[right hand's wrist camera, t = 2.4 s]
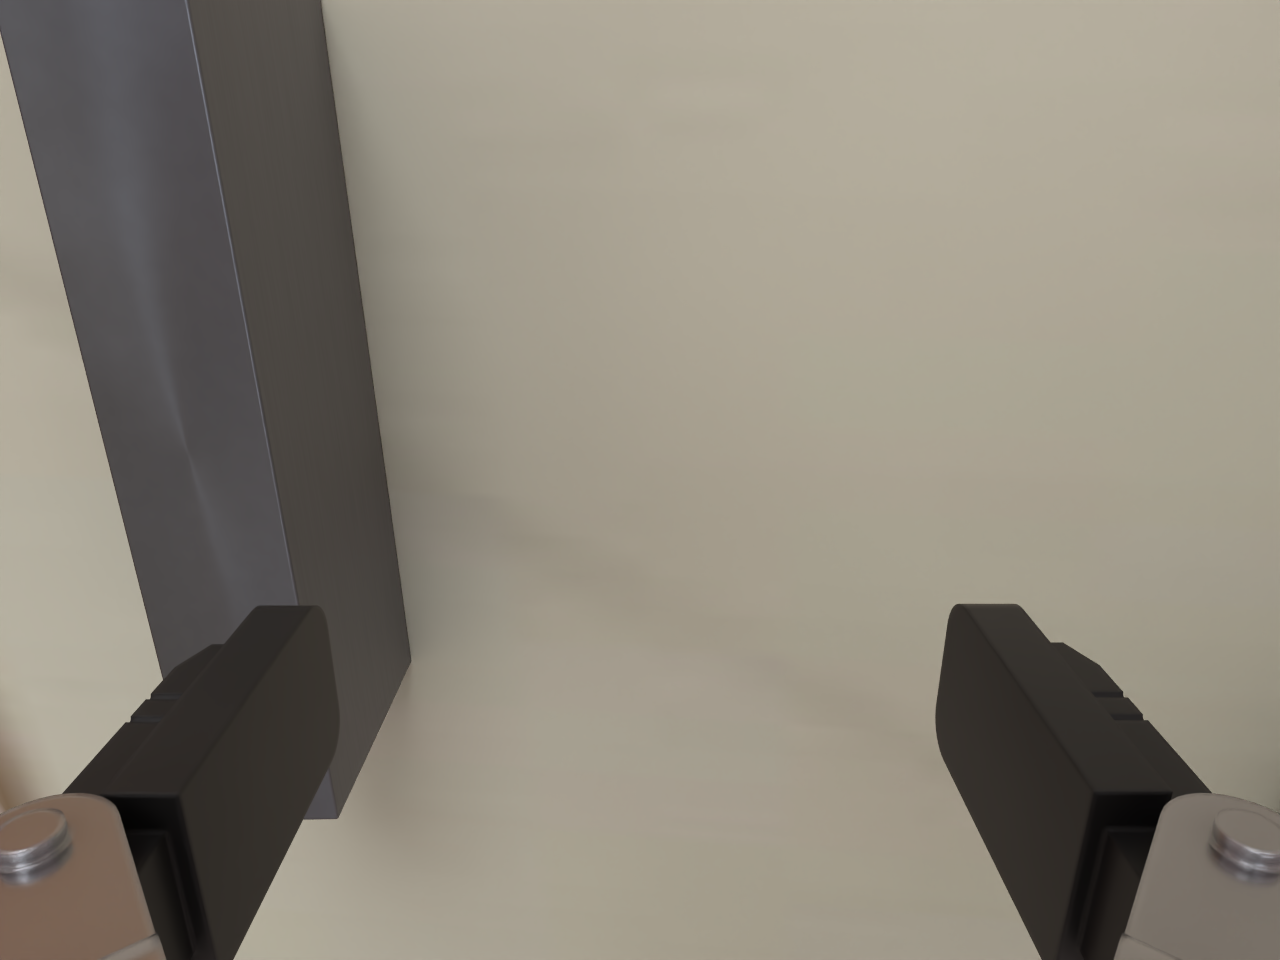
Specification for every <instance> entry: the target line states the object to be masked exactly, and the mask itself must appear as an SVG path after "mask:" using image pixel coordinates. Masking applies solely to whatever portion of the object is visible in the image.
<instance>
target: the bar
mask: <svg viewBox="0 0 1280 960" xmlns="http://www.w3.org/2000/svg"><path fill="white" fill-rule="evenodd" d="M0 32H1V36H2V40H3V44H4V48H5V52H6V56H7V60H8V64H9V68H10V72H11V76H12V80H13V84H14V88H15V92H16V96H17V100H18V104H19V108H20V112H21V116H22V120H23V124H24V128H25V132H26V136H27V140H28V144H29V148H30V152H31V156H32V160H33V164H34V168H35V172H36V176H37V180H38V184H39V188H40V192H41V196H42V200H43V204H44V208H45V211H46V215H47V219H48V223H49V227H50V231H51V235H52V239H53V243H54V247H55V251H56V255H57V259H58V263H59V267H60V271H61V275H62V279H63V283H64V287H65V291H66V295H67V299H68V303H69V307H70V311H71V315H72V319H73V323H74V327H75V331H76V335H77V339H78V343H79V347H80V351H81V355H82V359H83V363H84V367H85V371H86V375H87V379H88V383H89V387H90V391H91V395H92V399H93V403H94V407H95V411H96V415H97V419H98V423H99V427H100V431H101V435H102V438H103V442H104V446H105V450H106V454H107V458H108V462H109V466H110V470H111V474H112V478H113V482H114V486H115V490H116V494H117V498H118V502H119V506H120V510H121V514H122V518H123V522H124V526H125V530H126V534H127V538H128V542H129V546H130V550H131V554H132V558H133V562H134V566H135V570H136V574H137V578H138V582H139V586H140V590H141V594H142V598H143V602H144V606H145V610H146V614H147V618H148V622H149V626H150V630H151V634H152V638H153V642H154V646H155V650H156V654H157V658H158V661H159V665H160V669H161V673H162V677H163V680H164V679H165V677H166V676H167V675H168V674H169V673H170V672H171V671H172V670H173V668H174V667H176V666H177V665H179V664H181V663H182V662H184V661H185V660H187V659H189V658H190V657H192V656H194V655H195V654H197V653H198V652H200V651H202V650H203V649H205V648H206V647H208V646H210V645H211V644H224V643H225V642H226V641H227V640H228V639H229V637H230V636H231V635H232V634H233V633H234V631H235V630H236V629H237V628H238V627H239V625H240V624H241V623H242V622H243V621H244V619H245V618H246V617H247V616H248V615H249V613H250V612H251V611H252V610H253V609H254V608H255V607H257V606H260V605H317V606H320V607H321V608H322V610H323V611H324V613H325V616H326V619H327V624H328V631H329V638H330V645H331V652H332V659H333V666H334V673H335V680H336V687H337V694H338V701H339V709H340V730H339V738H338V744H337V748H336V752H335V755H334V758H333V760H332V762H331V764H330V766H329V768H328V770H327V772H326V774H325V776H324V778H323V780H322V782H321V784H320V786H319V788H318V790H317V792H316V794H315V797H314V799H313V801H312V803H311V805H310V807H309V809H308V811H307V813H306V815H305V817H304V819H337V818H338V817H339V815H340V813H341V811H342V809H343V807H344V804H345V802H346V800H347V798H348V796H349V794H350V792H351V789H352V787H353V785H354V783H355V781H356V779H357V777H358V774H359V772H360V770H361V768H362V766H363V764H364V761H365V759H366V757H367V755H368V753H369V751H370V749H371V746H372V744H373V742H374V740H375V738H376V736H377V734H378V731H379V729H380V727H381V725H382V723H383V721H384V718H385V716H386V714H387V712H388V710H389V708H390V706H391V703H392V701H393V699H394V697H395V695H396V693H397V691H398V688H399V686H400V684H401V682H402V680H403V678H404V676H405V673H406V671H407V669H408V667H409V665H410V663H411V657H410V650H409V642H408V635H407V628H406V620H405V613H404V606H403V599H402V591H401V584H400V577H399V570H398V562H397V555H396V548H395V541H394V533H393V526H392V519H391V512H390V504H389V497H388V490H387V482H386V475H385V468H384V461H383V453H382V446H381V439H380V432H379V424H378V417H377V410H376V403H375V395H374V388H373V381H372V374H371V366H370V359H369V352H368V344H367V337H366V330H365V323H364V315H363V308H362V301H361V294H360V286H359V279H358V272H357V265H356V257H355V250H354V243H353V236H352V228H351V221H350V214H349V206H348V199H347V192H346V185H345V177H344V170H343V163H342V156H341V148H340V141H339V134H338V127H337V119H336V112H335V105H334V98H333V90H332V83H331V76H330V68H329V61H328V54H327V47H326V39H325V32H324V25H323V18H322V10H321V3H320V0H0Z"/></svg>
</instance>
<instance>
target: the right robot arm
mask: <svg viewBox="0 0 1280 960" xmlns="http://www.w3.org/2000/svg"><path fill="white" fill-rule="evenodd" d="M339 730H340V709H339V701H338V694H337V687H336V680H335V673H334V666H333V659H332V652H331V645H330V638H329V631H328V624H327V619H326V616H325V613H324V611H323V610H322V608H321V607H320V606H317V605H260V606H257V607H255V608H254V609H253V610H252V611H251V612H250V613H249V615H248V616H247V617H246V618H245V619H244V621H243V622H242V623H241V624H240V625H239V627H238V628H237V629H236V630H235V631H234V633H233V634H232V635H231V636H230V637H229V639H228V640H227V641H226V642H225V643H224V644H211V645H210V646H208V647H206V648H205V649H203V650H202V651H200V652H198V653H197V654H195V655H194V656H192V657H190V658H189V659H187V660H185V661H184V662H182V663H181V664H179V665H177V666H176V667H174V668H173V670H172V671H171V672H170V673H169V674H168V675H167V676H166V677H165V679H164V680H163V681H162V682H161V683H160V684H159V685H158V686H157V688H156V689H155V690H154V691H153V692H152V693H151V698H150V699H146V700H145V701H144V702H143V703H142V705H141V706H140V707H139V708H138V709H137V710H136V711H135V712H134V714H133V715H132V716H131V721H130V722H126V723H125V724H124V725H123V726H122V727H121V728H120V729H119V730H118V732H117V733H116V734H115V735H114V736H113V737H112V738H111V739H110V741H109V742H108V743H107V744H106V745H105V746H104V747H103V748H102V750H101V751H100V752H99V753H98V754H97V755H96V756H95V757H94V759H93V760H92V761H91V762H90V763H89V764H88V765H87V766H86V768H85V769H84V770H83V771H82V772H81V773H80V774H79V775H78V777H77V778H76V779H75V780H74V781H73V782H72V783H71V784H70V786H69V787H68V788H67V789H66V790H65V791H64V792H63V793H62V794H60V795H53V796H49V797H44V798H40V799H37V800H33V801H30V802H27V803H24V804H22V805H19V806H17V807H14V808H11V809H9V810H7V811H5V812H3V813H1V814H0V960H233V959H234V957H235V955H236V953H237V951H238V949H239V947H240V945H241V943H242V941H243V939H244V937H245V935H246V933H247V931H248V929H249V927H250V925H251V923H252V921H253V919H254V917H255V915H256V913H257V911H258V909H259V907H260V905H261V903H262V901H263V899H264V897H265V895H266V893H267V891H268V889H269V887H270V885H271V883H272V881H273V879H274V877H275V875H276V873H277V871H278V869H279V867H280V865H281V863H282V861H283V859H284V857H285V855H286V853H287V851H288V849H289V847H290V845H291V843H292V841H293V839H294V837H295V835H296V833H297V831H298V829H299V827H300V825H301V823H302V821H303V819H304V817H305V815H306V813H307V811H308V809H309V807H310V805H311V803H312V801H313V799H314V797H315V794H316V792H317V790H318V788H319V786H320V784H321V782H322V780H323V778H324V776H325V774H326V772H327V770H328V768H329V766H330V764H331V762H332V760H333V758H334V755H335V752H336V748H337V744H338V738H339ZM936 733H937V739H938V744H939V748H940V752H941V755H942V757H943V760H944V762H945V764H946V766H947V768H948V770H949V772H950V774H951V776H952V778H953V780H954V782H955V784H956V786H957V788H958V790H959V792H960V794H961V796H962V798H963V800H964V802H965V805H966V807H967V809H968V811H969V813H970V815H971V817H972V819H973V821H974V823H975V825H976V827H977V829H978V831H979V833H980V835H981V837H982V839H983V841H984V843H985V845H986V847H987V849H988V851H989V853H990V855H991V857H992V859H993V861H994V863H995V865H996V867H997V870H998V872H999V874H1000V876H1001V878H1002V880H1003V882H1004V884H1005V886H1006V888H1007V890H1008V892H1009V894H1010V896H1011V898H1012V900H1013V902H1014V904H1015V906H1016V908H1017V910H1018V912H1019V914H1020V916H1021V918H1022V920H1023V922H1024V924H1025V926H1026V928H1027V930H1028V932H1029V935H1030V937H1031V939H1032V941H1033V943H1034V945H1035V947H1036V949H1037V951H1038V953H1039V955H1040V957H1041V959H1042V960H1280V814H1279V813H1277V812H1275V811H1273V810H1271V809H1269V808H1266V807H1263V806H1261V805H1258V804H1256V803H1253V802H1250V801H1247V800H1243V799H1240V798H1236V797H1231V796H1227V795H1220V794H1213V793H1211V791H1210V790H1209V789H1208V788H1207V787H1206V786H1205V785H1204V783H1203V782H1202V781H1201V780H1200V779H1199V778H1198V777H1197V775H1196V774H1195V773H1194V772H1193V771H1192V770H1191V769H1190V768H1189V766H1188V765H1187V764H1186V763H1185V762H1184V761H1183V760H1182V758H1181V757H1180V756H1179V755H1178V754H1177V753H1176V752H1175V750H1174V749H1173V748H1172V747H1171V746H1170V745H1169V744H1168V743H1167V741H1166V740H1165V739H1164V738H1163V737H1162V736H1161V735H1160V733H1159V732H1158V731H1157V730H1156V729H1155V728H1154V727H1153V726H1152V724H1151V723H1150V722H1149V721H1148V720H1143V714H1142V713H1141V712H1140V711H1139V710H1138V708H1137V707H1136V706H1135V705H1134V704H1133V703H1132V702H1131V701H1130V699H1129V698H1124V697H1123V691H1122V690H1121V689H1120V688H1119V687H1118V686H1117V685H1116V683H1115V682H1114V681H1113V680H1112V679H1111V678H1110V677H1109V676H1108V674H1107V673H1106V672H1105V671H1104V670H1103V669H1102V668H1101V666H1100V665H1098V664H1096V663H1095V662H1093V661H1092V660H1090V659H1088V658H1087V657H1085V656H1084V655H1082V654H1080V653H1079V652H1077V651H1076V650H1074V649H1072V648H1071V647H1069V646H1068V645H1066V644H1064V643H1050V641H1049V640H1048V639H1047V638H1046V636H1045V635H1044V634H1043V633H1042V632H1041V630H1040V629H1039V628H1038V627H1037V626H1036V624H1035V623H1034V622H1033V621H1032V619H1031V618H1030V617H1029V616H1028V615H1027V613H1026V612H1025V611H1024V610H1023V609H1022V608H1021V607H1020V606H1019V605H1017V604H957V605H955V606H954V607H953V609H952V610H951V613H950V615H949V619H948V624H947V632H946V639H945V646H944V653H943V660H942V667H941V675H940V682H939V689H938V696H937V703H936Z"/></svg>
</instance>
